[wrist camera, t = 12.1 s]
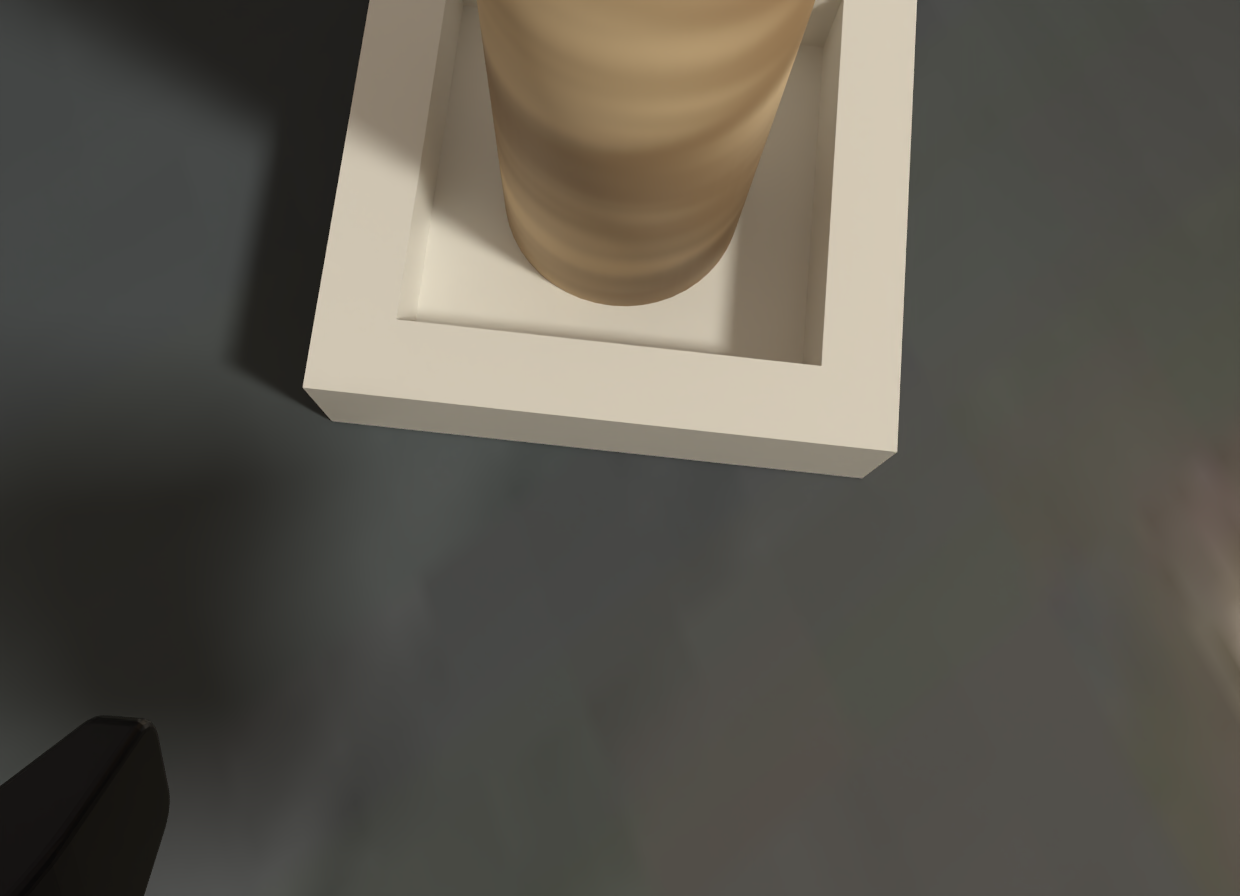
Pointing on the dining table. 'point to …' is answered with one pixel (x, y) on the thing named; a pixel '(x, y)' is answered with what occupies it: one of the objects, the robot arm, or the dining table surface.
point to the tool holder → (623, 335)
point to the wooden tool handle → (633, 132)
